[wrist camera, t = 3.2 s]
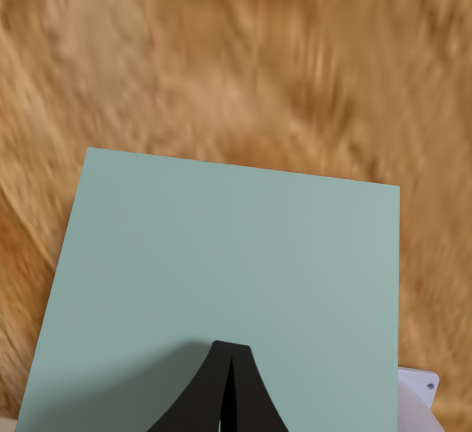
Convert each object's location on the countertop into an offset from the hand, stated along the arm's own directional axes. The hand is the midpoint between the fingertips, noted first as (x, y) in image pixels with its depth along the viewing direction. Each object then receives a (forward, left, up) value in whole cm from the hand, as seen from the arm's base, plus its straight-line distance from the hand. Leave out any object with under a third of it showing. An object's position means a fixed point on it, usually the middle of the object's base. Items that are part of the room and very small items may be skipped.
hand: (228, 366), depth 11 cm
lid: (+1, 0, -3) cm, 3 cm away
